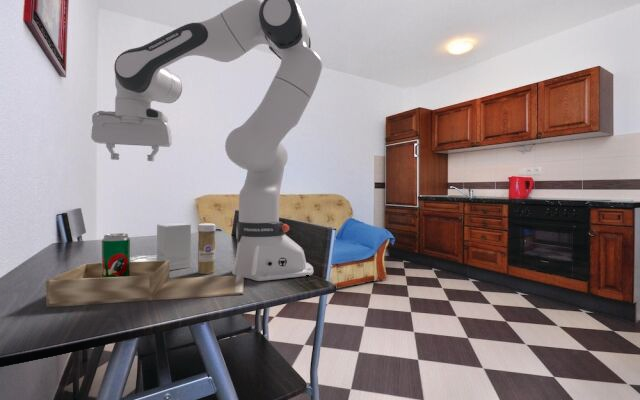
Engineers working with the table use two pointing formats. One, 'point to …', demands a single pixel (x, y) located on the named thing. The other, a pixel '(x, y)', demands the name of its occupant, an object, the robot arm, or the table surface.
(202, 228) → the sprinkles bottle
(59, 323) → the table surface
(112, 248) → the soda can
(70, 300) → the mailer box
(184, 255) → the supplement box
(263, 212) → the robot arm
